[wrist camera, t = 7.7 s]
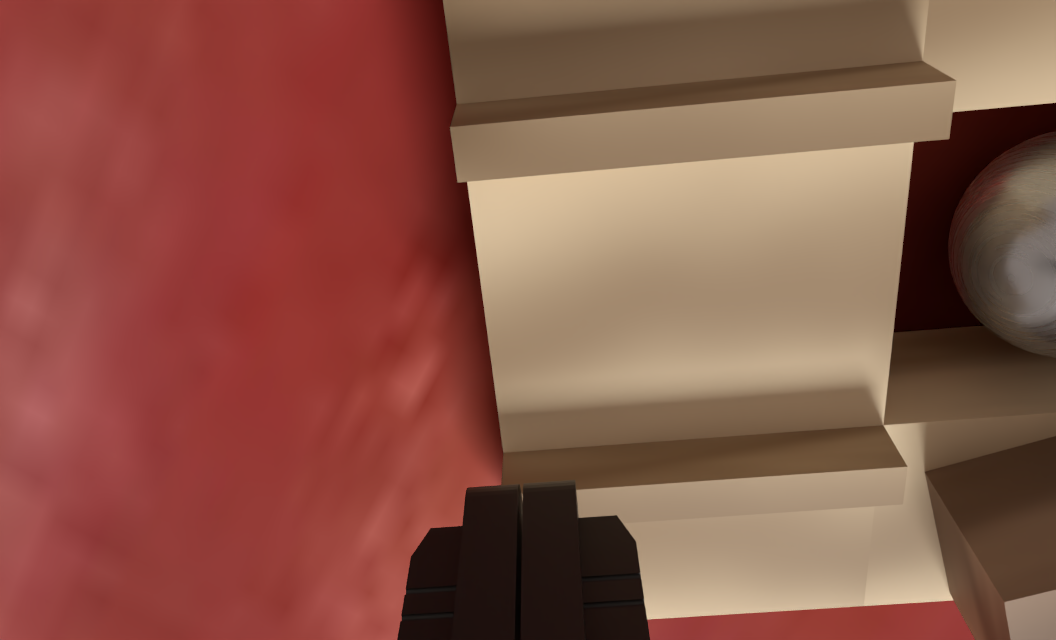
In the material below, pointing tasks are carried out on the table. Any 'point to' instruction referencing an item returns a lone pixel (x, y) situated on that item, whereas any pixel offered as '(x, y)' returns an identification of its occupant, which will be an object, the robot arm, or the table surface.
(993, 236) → the ball
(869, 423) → the wooden stepped tray
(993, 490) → the walnut cube
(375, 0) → the table surface
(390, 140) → the table surface
